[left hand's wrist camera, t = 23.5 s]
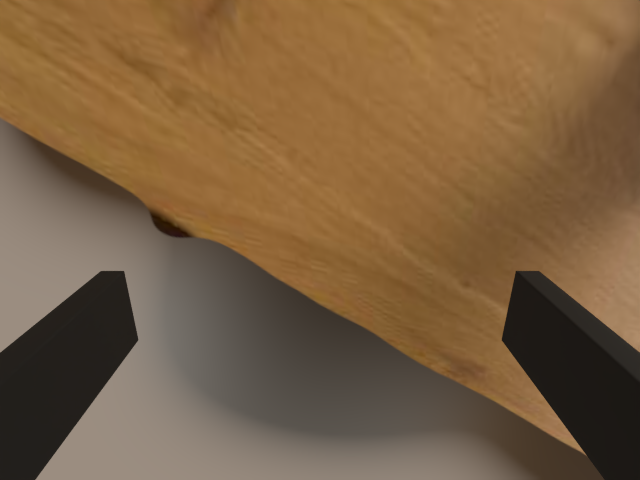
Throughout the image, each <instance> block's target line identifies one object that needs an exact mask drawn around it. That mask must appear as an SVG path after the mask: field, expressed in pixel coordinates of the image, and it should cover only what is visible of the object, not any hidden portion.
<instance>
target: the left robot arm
mask: <svg viewBox="0 0 640 480" xmlns="http://www.w3.org/2000/svg"><path fill="white" fill-rule="evenodd" d="M137 341H138V336H137V331H136V326H135V322H134V317H133V312H132V307H131V302H130V298H129V293H128V288H127V283H126V278H125V274H124V271H101V272H99V273H98V274H97V275H96V276H94V277H93V278H92V279H91V280H90V281H88V282H87V283H86V284H85V285H83V286H82V287H81V288H80V289H78V290H77V291H76V292H75V293H73V294H72V295H71V296H70V297H69V298H67V299H66V300H65V301H64V302H62V303H61V304H60V305H59V306H57V307H56V308H55V309H54V310H52V311H51V312H50V313H49V314H48V315H46V316H45V317H44V318H43V319H41V320H40V321H39V322H38V323H36V324H35V325H34V326H33V327H31V328H30V329H29V330H28V331H27V332H25V333H24V334H23V335H22V336H20V337H19V338H18V339H17V340H15V341H14V342H13V343H12V344H10V345H9V346H8V347H7V348H6V349H4V350H3V351H2V352H1V353H0V480H35V479H36V478H37V477H38V475H39V474H40V472H41V471H42V470H43V468H44V467H45V466H46V464H47V463H48V462H49V460H50V459H51V458H52V456H53V455H54V454H55V452H56V451H57V449H58V448H59V447H60V445H61V444H62V443H63V441H64V440H65V439H66V437H67V436H68V435H69V433H70V432H71V430H72V429H73V428H74V426H75V425H76V424H77V422H78V421H79V420H80V418H81V417H82V415H83V414H84V413H85V412H86V410H87V409H88V407H89V406H90V405H91V403H92V402H93V401H94V399H95V398H96V397H97V395H98V394H99V392H100V391H101V390H102V389H103V387H104V386H105V384H106V383H107V382H108V380H109V379H110V378H111V376H112V375H113V374H114V372H115V371H116V370H117V368H118V367H119V365H120V364H121V363H122V361H123V360H124V359H125V357H126V356H127V355H128V353H129V352H130V351H131V349H132V348H133V347H134V345H135V344H136V342H137ZM502 341H503V342H504V344H505V345H506V347H507V348H508V349H509V351H510V352H511V353H512V355H513V356H514V357H515V359H516V360H517V361H518V363H519V364H520V365H521V367H522V368H523V370H524V371H525V372H526V374H527V375H528V376H529V378H530V379H531V380H532V382H533V383H534V384H535V386H536V387H537V389H538V390H539V391H540V393H541V394H542V395H543V397H544V398H545V399H546V401H547V402H548V403H549V405H550V406H551V407H552V409H553V410H554V412H555V413H556V414H557V416H558V417H559V418H560V420H561V421H562V422H563V424H564V425H565V426H566V428H567V429H568V431H569V432H570V433H571V435H572V436H573V437H574V439H575V440H576V441H577V443H578V444H579V445H580V447H581V448H582V449H583V451H584V452H585V454H586V455H587V456H588V458H589V459H590V460H591V462H592V463H593V464H594V466H595V467H596V468H597V470H598V471H599V473H600V474H601V475H602V477H603V478H604V479H605V480H640V353H639V352H638V351H637V350H636V349H634V348H633V347H632V346H631V345H630V344H628V343H627V342H626V341H625V340H623V339H622V338H621V337H620V336H618V335H617V334H616V333H615V332H613V331H612V330H611V329H610V328H609V327H607V326H606V325H605V324H604V323H602V322H601V321H600V320H599V319H597V318H596V317H595V316H594V315H592V314H591V313H590V312H589V311H588V310H586V309H585V308H584V307H583V306H581V305H580V304H579V303H578V302H576V301H575V300H574V299H573V298H571V297H570V296H569V295H568V294H567V293H565V292H564V291H563V290H562V289H560V288H559V287H558V286H557V285H555V284H554V283H553V282H552V281H551V280H549V279H548V278H547V277H546V276H544V275H543V274H542V273H541V272H539V271H516V273H515V278H514V283H513V288H512V293H511V298H510V302H509V307H508V312H507V317H506V322H505V326H504V331H503V336H502Z"/></svg>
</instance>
